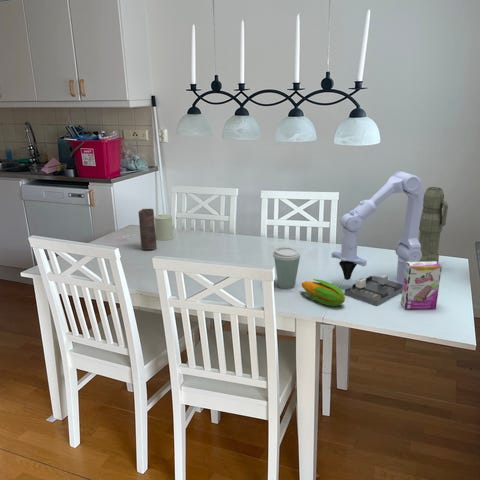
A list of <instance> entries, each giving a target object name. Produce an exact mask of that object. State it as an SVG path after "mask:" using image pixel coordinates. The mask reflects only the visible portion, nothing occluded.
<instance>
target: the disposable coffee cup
mask: <svg viewBox="0 0 480 480" xmlns="http://www.w3.org/2000/svg"><path fill="white" fill-rule="evenodd" d="M272 257H273V258H274V267H275V272H276V278H277V285H278V287H280V288H281V289H285V290H287V289H292V288H294V287H295V285H296V281H297V275H298V271H299V264H300V259H301V253H300V251H299V250H298V249H296V248H294V247H290V246H277V247H276V248H274V251H273V253H272Z"/></svg>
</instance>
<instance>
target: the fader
mask: <svg viewBox="0 0 480 480" xmlns="http://www.w3.org/2000/svg"><path fill="white" fill-rule="evenodd" d="M378 277H379V278H378V283H379V284H382V285H384V284H386V283H388V280H389V275H387V274H384V273H383V274H381V275H379V276H378Z"/></svg>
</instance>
